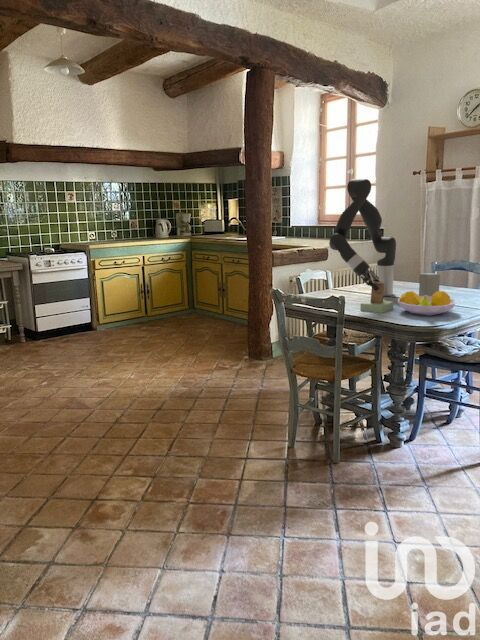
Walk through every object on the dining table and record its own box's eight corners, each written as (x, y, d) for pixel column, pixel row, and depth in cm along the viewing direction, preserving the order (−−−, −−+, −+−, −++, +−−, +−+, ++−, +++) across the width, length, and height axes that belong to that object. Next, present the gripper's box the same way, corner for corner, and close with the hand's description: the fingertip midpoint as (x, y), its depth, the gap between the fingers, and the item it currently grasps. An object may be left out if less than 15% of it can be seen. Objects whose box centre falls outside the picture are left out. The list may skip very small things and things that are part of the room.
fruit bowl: (408, 305, 268) (409, 283, 265) (462, 310, 251) (464, 288, 248) (386, 315, 247) (386, 291, 244) (443, 321, 230) (445, 297, 227)
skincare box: (425, 305, 266) (427, 274, 263) (417, 302, 273) (418, 273, 270) (439, 303, 269) (441, 273, 265) (431, 301, 275) (432, 272, 272)
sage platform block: (371, 306, 268) (371, 299, 268) (392, 309, 261) (393, 301, 260) (360, 310, 260) (360, 303, 259) (382, 313, 252) (382, 305, 251)
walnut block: (373, 300, 263) (374, 281, 260) (382, 301, 260) (384, 282, 258) (370, 302, 258) (372, 282, 256) (380, 303, 256) (382, 284, 254)
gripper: (359, 261, 252) (381, 285, 249) (367, 258, 264) (389, 281, 261) (348, 271, 256) (370, 295, 253) (357, 268, 268) (378, 291, 265)
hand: (380, 288), depth 257 cm, fingers open, 8 cm apart
